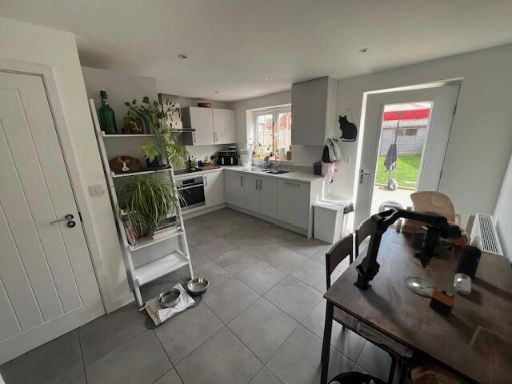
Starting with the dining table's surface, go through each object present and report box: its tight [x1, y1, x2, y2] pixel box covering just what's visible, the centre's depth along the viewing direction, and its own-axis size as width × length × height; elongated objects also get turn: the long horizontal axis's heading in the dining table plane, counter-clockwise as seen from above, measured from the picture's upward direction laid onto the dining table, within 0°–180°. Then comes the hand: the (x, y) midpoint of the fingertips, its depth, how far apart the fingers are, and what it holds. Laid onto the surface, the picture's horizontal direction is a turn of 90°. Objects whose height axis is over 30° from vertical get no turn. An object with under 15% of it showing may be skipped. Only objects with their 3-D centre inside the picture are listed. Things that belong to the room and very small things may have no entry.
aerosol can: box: [454, 241, 483, 280], centre depth 111 cm, size 8×8×20 cm
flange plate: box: [404, 276, 437, 298], centre depth 106 cm, size 14×14×1 cm
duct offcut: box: [452, 273, 472, 296], centre depth 103 cm, size 10×6×6 cm, turn 134°
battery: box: [429, 286, 457, 317], centre depth 91 cm, size 4×7×10 cm, turn 34°
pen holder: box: [410, 231, 425, 251], centre depth 141 cm, size 9×9×10 cm
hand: (425, 266), depth 102 cm, fingers open, 4 cm apart
